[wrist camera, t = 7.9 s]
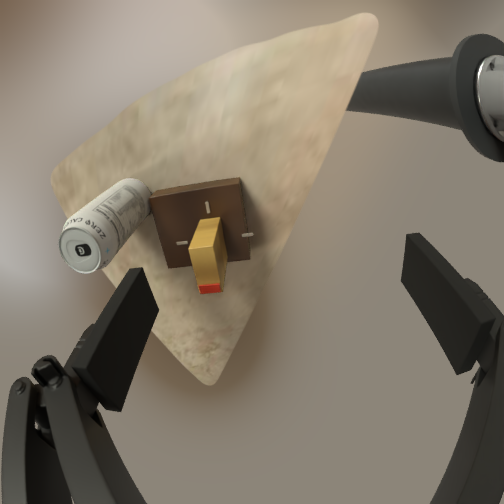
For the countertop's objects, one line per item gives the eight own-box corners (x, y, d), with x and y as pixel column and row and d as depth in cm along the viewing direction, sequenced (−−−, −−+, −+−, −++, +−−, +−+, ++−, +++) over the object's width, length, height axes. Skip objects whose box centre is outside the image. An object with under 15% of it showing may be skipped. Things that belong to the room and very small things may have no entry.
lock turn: (199, 219, 35) (187, 249, 28) (220, 216, 34) (212, 246, 28) (208, 259, 37) (199, 295, 30) (227, 257, 37) (222, 293, 30)
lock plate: (246, 176, 35) (246, 182, 32) (257, 256, 41) (258, 268, 38) (155, 190, 36) (148, 198, 33) (175, 265, 41) (170, 277, 38)
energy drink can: (109, 181, 35) (45, 226, 22) (148, 172, 35) (93, 215, 21) (120, 221, 38) (67, 281, 25) (159, 214, 37) (115, 276, 24)
